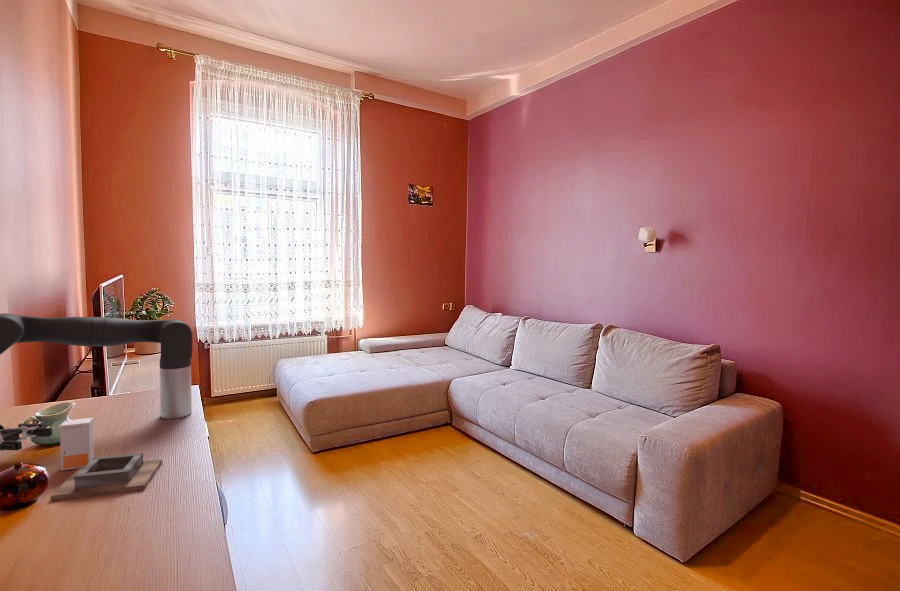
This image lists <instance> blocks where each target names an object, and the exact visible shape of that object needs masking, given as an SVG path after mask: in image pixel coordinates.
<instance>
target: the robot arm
mask: <svg viewBox="0 0 900 591" xmlns="http://www.w3.org/2000/svg"><path fill="white" fill-rule="evenodd" d="M41 342H45V343H55V344H62V345H67V346H68V345H69V346H77V347H113V346H119V345H121V346H122V345H128V344H133V343H154V344H155V343H157V344H160V357H159V396H160V397H159V398H160V399H159V400H160V401H159V403H160V407H159V408H160V410H159V411H160V418H162V419H167V420H172V419H173V420H174V419H180V418H185V417H187V416H190V415H191V414H192V357H193V331H192V329H191V326H190V325H189V324H187V323H186V322H185V321H183V320H181V319H178V318H177V319H176V318H171V319H169V318H167V319H151V320H141V319H139V320H138V319H130V318H117V317H106V316H104V317H103V316H62V317H42V316H40V317H39V316H31V315H19V314H12V313H0V356H1V355H2V354H3V353H4V352H6V351H7V350H8V349H9V348H11V347H12V346H13V345H16V344H22V343H41ZM184 416H185V417H184ZM43 425H44V424H43V423H18V425H17V427H11V426H10V427H4V426H3V425H2V424H1V423H0V452H3V451H20V450H22V448H23V445H22V441H25V440H27V439H28V438H33V437H39V438H41V437H43V438H45V437H46V438H49V437H52V436H53V429H52V428H51V427H43ZM20 435H22V436H21V437H20Z"/></svg>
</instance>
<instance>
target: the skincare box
mask: <svg viewBox="0 0 900 591" xmlns="http://www.w3.org/2000/svg"><path fill="white" fill-rule="evenodd" d="M59 432H60V433H59V434H60V435H59V436H60V437H59V439H60V440H59V442H60V443H59V445H60V471H61V472H63V471H66V470H74V469H79V468H80V467H85V466H86V465H87V464H88V463H89V462H90V461H91V460H92V459H93V458H94V457H95V453H94V452H95V448H94V446H95V445H94V444H95V443H94V417H87V418H86V417H85V418H77V419H68V420H67V419H66V420H64V421H63V422H62V423H61V424H60V425H59Z"/></svg>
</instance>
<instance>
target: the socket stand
mask: <svg viewBox="0 0 900 591" xmlns="http://www.w3.org/2000/svg"><path fill="white" fill-rule="evenodd" d="M162 465H163V459H162V458H161V459H153V460H144V452H137V453H128V454H127V453H125V454H116V455H115V454H114V455H105V456H94V458H93V459H92V460H91V461H90V462H89V463H88V464H87V465H86V466H85V467H80V468H77V470H76V471H75V472H74V473H73V474H72V475H71V476H69V477H68V478H67V479H66V480H65V481H64V482H63V483H61V485H60V486H59V487H58V488H57V489H55V491H53V492H52V494H51V495H50V501H51V502H52V501H60V500H61V501H62V500H69V499H79V498H86V497H94V496H95V497H96V496H104V495H112V494H121V493H129V492H130V493H131V492H137V491H145V490H146V488H147V487H148V485H149V483H151V481H152V479H153V478H154V476H155V475H156V473H157V472H158V470H159V469H160V467H161V466H162Z"/></svg>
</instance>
